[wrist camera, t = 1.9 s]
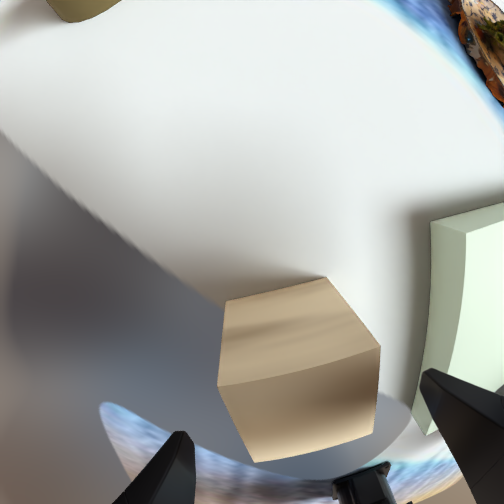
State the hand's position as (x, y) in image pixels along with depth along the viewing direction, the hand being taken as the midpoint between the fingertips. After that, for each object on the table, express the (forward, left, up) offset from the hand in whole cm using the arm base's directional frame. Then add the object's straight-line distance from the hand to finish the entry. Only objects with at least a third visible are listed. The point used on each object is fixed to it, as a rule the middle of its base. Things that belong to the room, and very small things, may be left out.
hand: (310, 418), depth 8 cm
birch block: (0, 0, -6) cm, 6 cm away
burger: (+16, -22, -6) cm, 28 cm away
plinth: (-4, -17, -6) cm, 18 cm away
